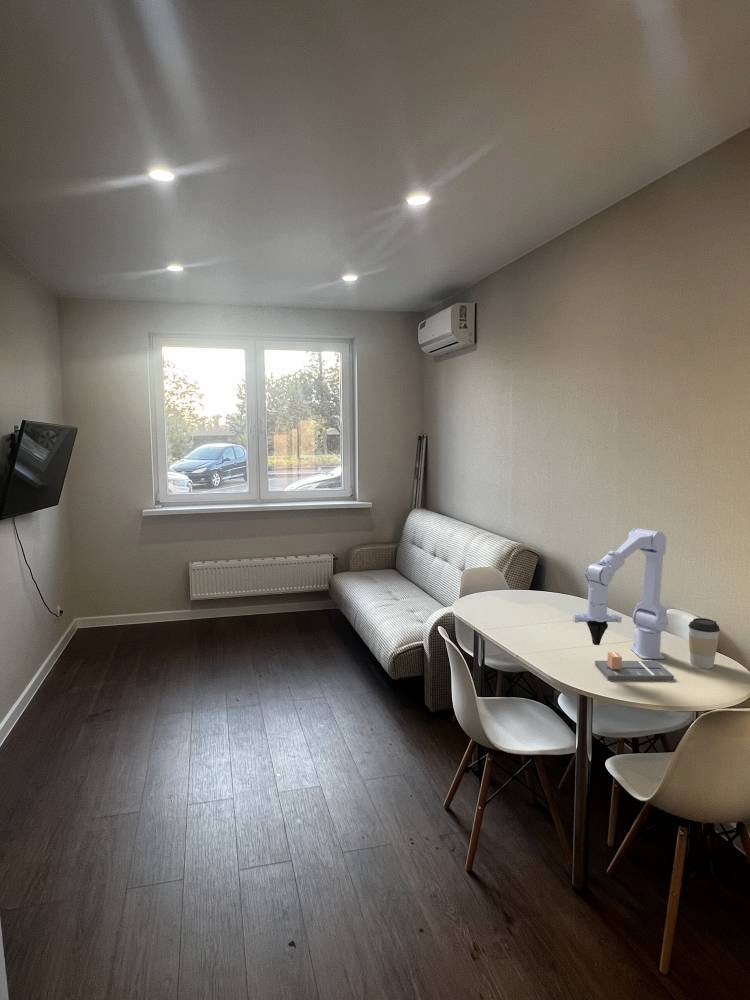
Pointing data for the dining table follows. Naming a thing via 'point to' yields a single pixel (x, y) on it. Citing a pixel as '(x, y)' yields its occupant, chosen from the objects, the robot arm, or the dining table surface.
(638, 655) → the robot arm
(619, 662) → the fader tab
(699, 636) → the coffee cup
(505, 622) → the dining table surface
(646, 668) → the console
